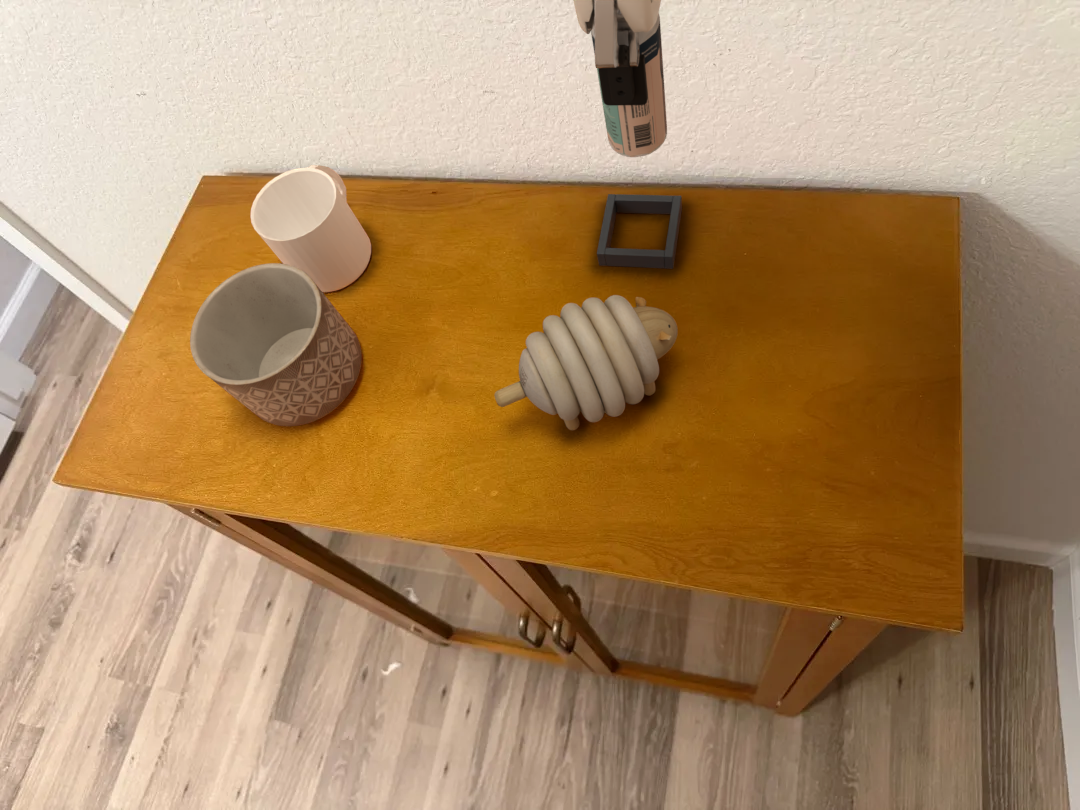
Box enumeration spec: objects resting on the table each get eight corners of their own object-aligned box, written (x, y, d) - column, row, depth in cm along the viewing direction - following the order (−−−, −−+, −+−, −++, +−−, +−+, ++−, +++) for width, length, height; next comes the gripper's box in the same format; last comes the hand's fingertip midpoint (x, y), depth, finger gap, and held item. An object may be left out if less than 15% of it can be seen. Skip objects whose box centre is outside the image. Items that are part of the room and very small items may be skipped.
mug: (349, 302, 81) (308, 249, 73) (280, 283, 84) (234, 230, 76) (398, 213, 85) (365, 153, 77) (331, 198, 88) (292, 139, 80)
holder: (682, 208, 78) (681, 195, 76) (673, 269, 75) (672, 257, 74) (610, 206, 80) (608, 193, 78) (598, 265, 77) (596, 253, 75)
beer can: (678, 126, 63) (671, -6, 52) (649, 168, 62) (637, 42, 51) (626, 110, 65) (610, -20, 54) (598, 151, 63) (575, 26, 53)
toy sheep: (706, 392, 69) (705, 329, 59) (540, 482, 69) (512, 434, 59) (647, 308, 74) (637, 237, 64) (492, 392, 73) (458, 333, 64)
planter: (285, 309, 83) (233, 251, 73) (386, 335, 79) (344, 277, 69) (228, 413, 78) (164, 365, 69) (332, 445, 74) (279, 399, 65)
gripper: (650, -103, 37) (668, 164, 53) (689, -296, 44) (694, -7, 60) (501, -91, 39) (562, 163, 55) (560, -278, 45) (599, -3, 62)
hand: (631, 72), depth 57 cm, fingers closed on beer can, 4 cm apart
